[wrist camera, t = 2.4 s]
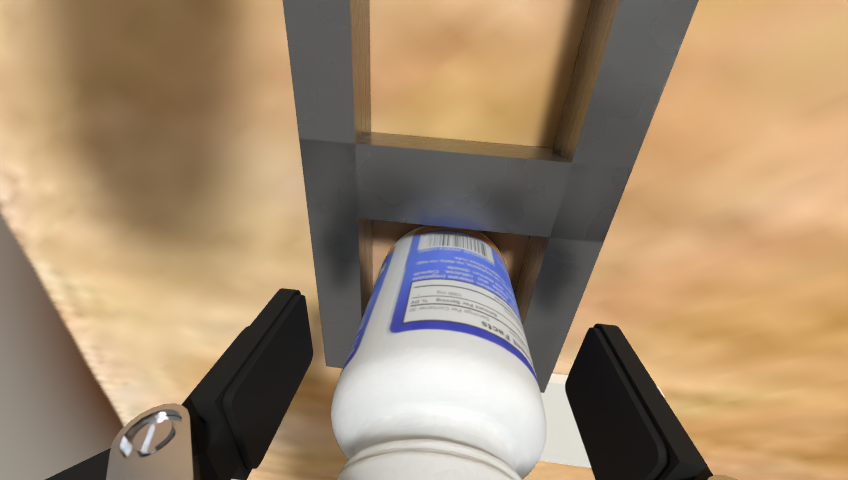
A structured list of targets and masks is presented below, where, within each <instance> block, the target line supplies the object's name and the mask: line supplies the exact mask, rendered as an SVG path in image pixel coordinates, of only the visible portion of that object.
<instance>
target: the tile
mask: <svg viewBox="0 0 848 480" xmlns="http://www.w3.org/2000/svg"><path fill="white" fill-rule="evenodd" d="M567 377H568V375H561V374H553V373H552V375H551V377H550V380H549V382H548V385H547V387H546V390H545V392H544V393H541V397H542V401H543V405H544V410H545V416H546V424H547V433H546V442H545V446H544V449H543V452H542V454H541V456H540V458H539V460H538V461H544V462H551V463H559V464H566V465H574V466H581V467H589V468H591V465H590V462H589V459H588V456H587V453H586V451H585V448H584V445H583V442H582V439H581V436H580V433H579V430H578V427H577V424H576V421H575V419H574V416H573V413H572V410H571V407H570V404H569V401H568V398H567V395H566V392H565V383H566V380H567ZM657 388H658V389H659V391H660V392H661V394H662V395H663V393H662V391H661V390H660V388H659V387H658V386H657ZM663 397H664V398H665V396H664V395H663Z"/></svg>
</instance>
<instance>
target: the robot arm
mask: <svg viewBox="0 0 848 480" xmlns="http://www.w3.org/2000/svg"><path fill="white" fill-rule="evenodd" d="M312 357H313V348H312V341H311V334H310V327H309V320H308V313H307V306H306V299H305V296H304V295H301V293H300V291H299V290H292V289H283V288H282V289H280V290H279V291H278V292H277V293H276V294H275V295H274V297H273V298H272V299H271V300H270V301H269V303H268V304H267V305H266V306H265V308H264V309H263V310H262V311H261V313H260V314H259V315H258V316H257V318H256V319H255V320H254V321H253V323H252V324H251V325H250V326H248V327H246V328H245V329H244V330H243V331H242V332H241V333H240V334H239V335H238V337H237V338H236V339H235V340H234V341H233V343H232V344H231V345H230V346H229V348H228V349H227V350H226V351H225V352H224V354H223V355H222V356H221V357H220V359H219V360H218V361H217V362H216V363H215V365H214V366H213V367H212V368H211V369H210V371H209V372H208V373H207V374H206V376H205V377H204V378H203V379H202V380H201V382H200V383H199V384H198V385H197V386H196V388H195V389H194V390H193V391H192V393H191V394H190V395H189V396H188V397H187V399H186V400H185V401H184V402H183V404H182V405H179V404H163V405H160V406H157V407H154V408H151V409H149V410H147V411H145V412H143V413H141V414H140V415H138V416H137V417H136V418H134V419H133V420H131V421H130V422H129V423H128V424H127V425H126V426H125V427H124V428H123V429H122V430H121V431H120V432H119V434H118V436H117V437H116V438H115V439H114V441H113V444H112V447H111V448H110V449H108V450H106V451H104V452H101V453H99V454H97V455H95V456H93V457H91V458H89V459H87V460H85V461H83V462H81V463H79V464H77V465H75V466H73V467H70V468H68V469H66V470H64V471H62V472H60V473H58V474H56V475H54V476H52V477H50V478H48V479H46V480H231V479H238V480H247V478H248V476H249V474H250V472H251V470H252V468H253V469H256V468H257V467H258V466H259V465H260V463H261V462H262V460H263V458H264V456H265V454H266V452H267V450H268V448H269V446H270V444H271V442H272V440H273V438H274V436H275V434H276V432H277V430H278V427H279V425H280V423H281V421H282V419H283V417H284V415H285V413H286V411H287V409H288V407H289V405H290V403H291V401H292V399H293V397H294V395H295V393H296V391H297V389H298V387H299V385H300V383H301V381H302V379H303V377H304V375H305V373H306V371H307V369H308V367H309V365H310V363H311V361H312ZM565 392H566V395H567V398H568V401H569V404H570V407H571V410H572V413H573V416H574V419H575V421H576V424H577V427H578V430H579V433H580V436H581V439H582V442H583V445H584V448H585V451H586V453H587V456H588V459H589V462H590V465H591V468H592V471H593V474H594V477H595V480H737V479H735V478H732V477H728V476H725V475H714V476H713V474H712V473H711V471H710V469H709V468H708V466H707V464H706V462H705V461H704V459H703V458H702V456H701V455H700V453H699V452H698V450H697V448H696V447H695V445H694V444H693V442H692V441H691V439H690V438H689V436H688V434H687V433H686V431H685V430H684V428H683V427H682V425H681V423H680V422H679V420H678V419H677V417H676V416H675V414H674V413H673V411H672V409H671V408H670V406H669V405H668V403H667V402H666V400H665V399H664V397H663V395H662V394H661V392H660V391H659V389H658V388H657V386H656V384H655V383H654V381H653V380H652V378H651V377H650V375H649V374H648V372H647V370H646V369H645V367H644V366H643V364H642V363H641V361H640V360H639V358H638V356H637V355H636V353H635V352H634V350H633V349H632V347H631V345H630V344H629V342H628V341H627V339H626V338H625V336H624V335H623V333H622V331H621V330H620V329H619V327H617V326H615V325H606V324H596V325H594V327H593V328H589V329H588V331H587V333H586V336H585V338H584V340H583V343H582V345H581V347H580V350H579V352H578V354H577V357H576V359H575V361H574V364H573V366H572V368H571V370H570V373H569V375H568V377H567V380H566V383H565Z"/></svg>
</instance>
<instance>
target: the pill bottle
mask: <svg viewBox="0 0 848 480" xmlns="http://www.w3.org/2000/svg"><path fill="white" fill-rule="evenodd" d="M331 422H332V428H333V433H334V435H335V438H336V441H337V443H338V445H339V447H340V449H341V450H342V452H343V453H344V455H345V456H346V458H347V459H348V460H349V461H348V462H347V463H346V464H345V465H344V467H343V469H342V471H341V473H340V475H339V476H338V478H337V479H336V480H523V479H524V478H525V477H526V476H527V475H528V474H529V473H530V472H531V471H532V469H533V468H534V467H535V465H536V464H537V462H538V460H539V458H540V456H541V454H542V452H543V449H544V446H545V442H546V433H547V424H546V416H545V410H544V405H543V401H542V397H541V393H540V389H539V385H538V381H537V377H536V373H535V370H534V366H533V362H532V359H531V355H530V352H529V348H528V344H527V340H526V337H525V333H524V329H523V326H522V322H521V318H520V315H519V311H518V307H517V303H516V300H515V296H514V292H513V289H512V285H511V281H510V278H509V274H508V270H507V267H506V264H505V262H504V259H503V257H502V255H501V253H500V251H499V250H498V248H497V247H496V246H495V244H494V243H493V242H492V241H491V240H490V239H489V238H488V237H486V236H485V235H484V234H482V233H481V232H479V231H477V230H472V229H462V228H452V227H442V226H432V225H424V226H421V227H418V228H416V229H414V230H412V231H410V232H408V233H407V234H405V235H404V236H402V237H401V238H400V239H399V240H398V241H397V242H396V243H395V244H394V245H393V247H392V248H391V249H390V251H389V253H388V255H387V256H386V258H385V260H384V263H383V265H382V268H381V270H380V273H379V276H378V279H377V281H376V284H375V287H374V289H373V292H372V294H371V297H370V300H369V302H368V305H367V307H366V310H365V313H364V315H363V318H362V321H361V323H360V326H359V328H358V331H357V333H356V336H355V339H354V341H353V344H352V347H351V349H350V352H349V354H348V357H347V359H346V362H345V365H344V367H343V370H342V372H341V375H340V378H339V381H338V384H337V387H336V389H335V393H334V396H333V400H332V406H331Z"/></svg>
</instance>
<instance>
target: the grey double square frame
mask: <svg viewBox="0 0 848 480" xmlns="http://www.w3.org/2000/svg"><path fill="white" fill-rule="evenodd" d="M697 3H698V0H592V2H591V6H590V10H589V14H588V18H587V21H586V25H585V29H584V33H583V37H582V40H581V44H580V48H579V52H578V56H577V60H576V63H575V67H574V71H573V75H572V79H571V83H570V86H569V90H568V94H567V98H566V102H565V105H564V109H563V113H562V117H561V121H560V125H559V128H558V132H557V136H556V140H555V144H554V147H553V148H544V147H533V146H521V145H510V144H499V143H487V142H476V141H465V140H453V139H442V138H430V137H419V136H408V135H396V134H385V133H374V132H371V104H370V24H369V0H283V6H284V15H285V23H286V31H287V40H288V48H289V57H290V65H291V74H292V82H293V90H294V99H295V107H296V116H297V124H298V132H299V141H300V149H301V158H302V166H303V175H304V183H305V191H306V200H307V208H308V217H309V225H310V233H311V242H312V250H313V259H314V267H315V276H316V284H317V292H318V301H319V309H320V318H321V326H322V334H323V343H324V351H325V360H326V366H329V367H337V368H343V367H344V365H345V362H346V359H347V357H348V354H349V352H350V349H351V347H352V344H353V341H354V339H355V336H356V333H357V331H358V328H359V326H360V323H361V321H362V318H363V315H364V313H365V310H366V307H367V305H368V302H369V300H370V297H371V294H372V292H373V264H372V219H373V220H383V221H393V222H402V223H412V224H422V225H432V226H442V227H452V228H462V229H472V230H482V231H492V232H502V233H512V234H522V235H530V239H529V243H528V247H527V251H526V254H525V258H524V262H523V266H522V270H521V274H520V277H519V281H518V285H517V289H516V293H515V300H516V303H517V307H518V311H519V315H520V318H521V322H522V326H523V329H524V333H525V337H526V340H527V344H528V348H529V352H530V355H531V359H532V362H533V366H534V370H535V373H536V377H537V381H538V385H539V389H540V393H544V392H545V390H546V387H547V385H548V382H549V380H550V377H551V375H552V372H553V369H554V367H555V364H556V362H557V359H558V357H559V354H560V352H561V349H562V347H563V344H564V341H565V339H566V336H567V334H568V331H569V329H570V326H571V324H572V321H573V319H574V316H575V313H576V311H577V308H578V306H579V303H580V301H581V298H582V296H583V293H584V291H585V288H586V285H587V283H588V280H589V278H590V275H591V273H592V270H593V268H594V265H595V263H596V260H597V258H598V255H599V252H600V250H601V247H602V245H603V242H604V240H605V237H606V235H607V232H608V230H609V227H610V224H611V222H612V219H613V217H614V214H615V212H616V209H617V207H618V204H619V202H620V199H621V196H622V194H623V191H624V189H625V186H626V184H627V181H628V179H629V176H630V174H631V171H632V168H633V166H634V163H635V161H636V158H637V156H638V153H639V151H640V148H641V146H642V143H643V140H644V138H645V135H646V133H647V130H648V128H649V125H650V123H651V120H652V118H653V115H654V112H655V110H656V107H657V105H658V102H659V100H660V97H661V95H662V92H663V90H664V87H665V84H666V82H667V79H668V77H669V74H670V72H671V69H672V67H673V64H674V62H675V59H676V56H677V54H678V51H679V49H680V46H681V44H682V41H683V39H684V36H685V34H686V31H687V28H688V26H689V23H690V21H691V18H692V16H693V13H694V11H695V8H696V6H697Z"/></svg>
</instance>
